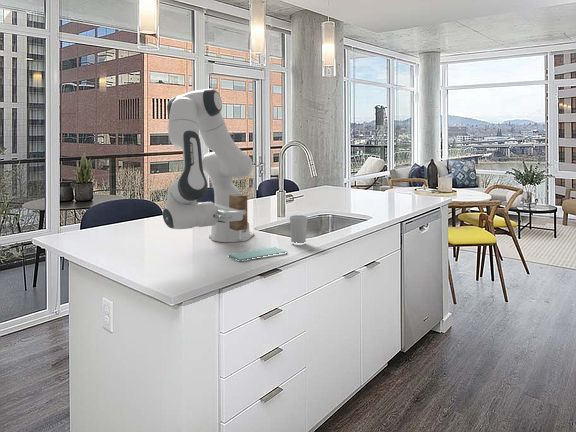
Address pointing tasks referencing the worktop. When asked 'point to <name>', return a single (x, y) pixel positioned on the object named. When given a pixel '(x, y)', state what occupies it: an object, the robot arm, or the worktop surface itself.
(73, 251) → the worktop surface
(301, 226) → the cup
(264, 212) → the worktop surface
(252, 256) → the board
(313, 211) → the worktop surface
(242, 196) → the block
